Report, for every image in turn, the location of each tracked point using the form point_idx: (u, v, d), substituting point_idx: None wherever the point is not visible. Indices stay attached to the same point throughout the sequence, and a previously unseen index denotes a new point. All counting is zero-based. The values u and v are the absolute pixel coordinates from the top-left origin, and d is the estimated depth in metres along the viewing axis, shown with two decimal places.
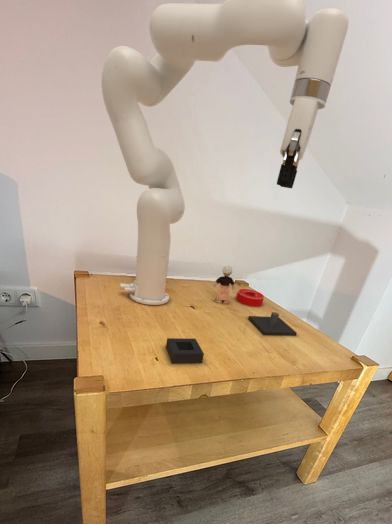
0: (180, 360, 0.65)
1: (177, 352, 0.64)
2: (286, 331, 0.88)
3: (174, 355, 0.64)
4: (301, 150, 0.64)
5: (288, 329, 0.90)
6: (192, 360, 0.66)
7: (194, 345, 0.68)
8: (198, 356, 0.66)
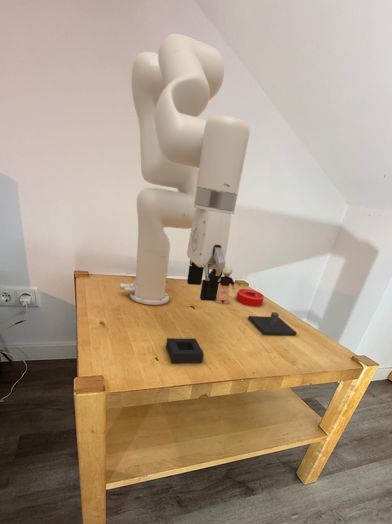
0: (180, 360, 0.65)
1: (177, 352, 0.64)
2: (286, 331, 0.88)
3: (174, 355, 0.64)
4: None
5: (288, 329, 0.90)
6: (192, 360, 0.66)
7: (194, 345, 0.68)
8: (198, 356, 0.66)
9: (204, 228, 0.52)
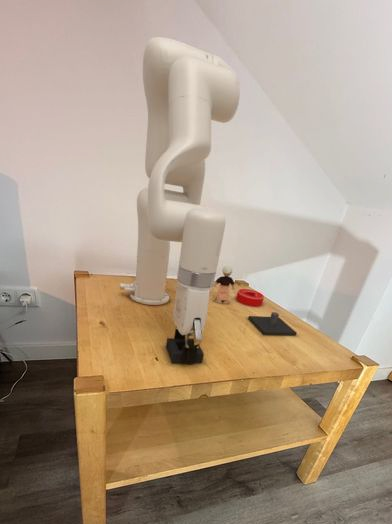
0: (180, 360, 0.65)
1: (177, 352, 0.64)
2: (286, 331, 0.88)
3: (174, 355, 0.64)
4: (202, 332, 0.61)
5: (288, 329, 0.90)
6: None
7: None
8: (198, 356, 0.66)
9: (185, 303, 0.58)
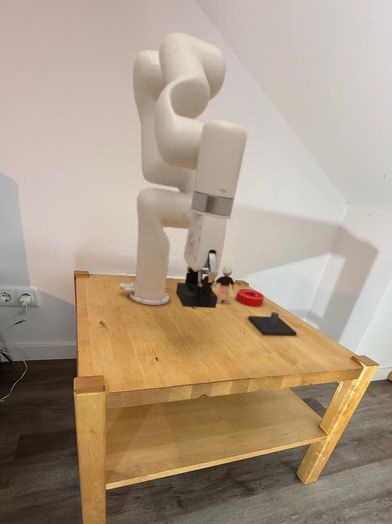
0: (192, 303, 0.60)
1: (189, 294, 0.59)
2: (286, 331, 0.88)
3: (186, 296, 0.58)
4: (217, 269, 0.56)
5: (288, 329, 0.90)
6: None
7: None
8: (211, 299, 0.60)
9: (200, 233, 0.52)
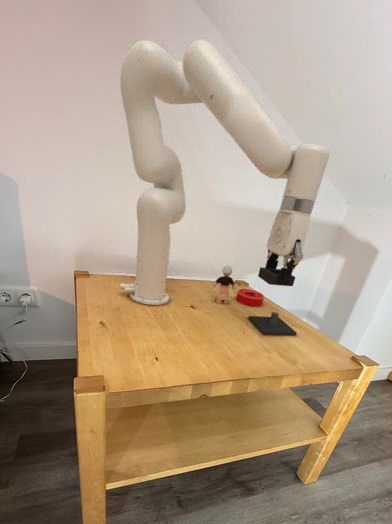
0: (276, 282, 0.77)
1: (274, 274, 0.76)
2: (286, 331, 0.88)
3: (272, 276, 0.76)
4: None
5: (288, 329, 0.90)
6: None
7: None
8: (291, 279, 0.77)
9: (289, 226, 0.70)
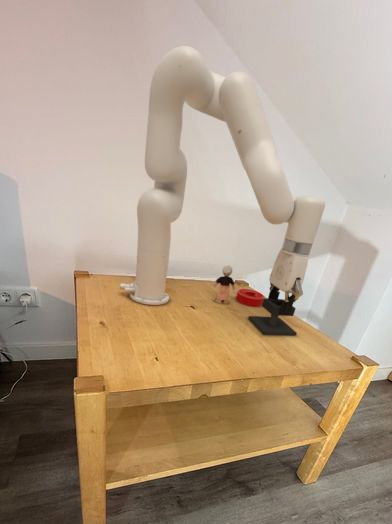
0: (278, 313, 0.85)
1: (277, 306, 0.85)
2: (286, 331, 0.88)
3: (275, 308, 0.84)
4: None
5: (288, 329, 0.90)
6: None
7: None
8: (291, 310, 0.86)
9: (290, 266, 0.78)
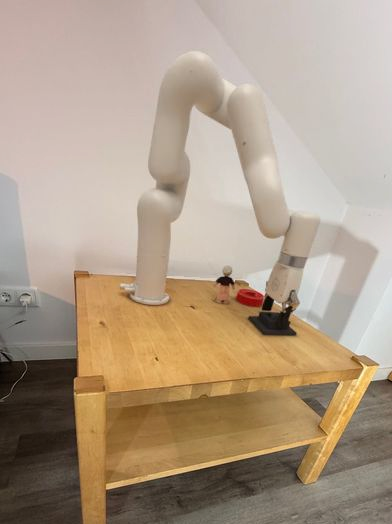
0: (273, 326, 0.88)
1: (272, 320, 0.87)
2: (286, 331, 0.88)
3: (270, 322, 0.86)
4: None
5: (288, 329, 0.90)
6: (282, 327, 0.88)
7: None
8: None
9: (285, 279, 0.80)
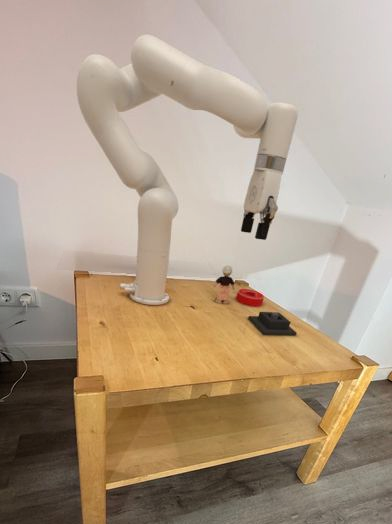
0: (273, 326, 0.88)
1: (272, 320, 0.87)
2: (286, 331, 0.88)
3: (270, 322, 0.86)
4: None
5: (288, 329, 0.90)
6: (282, 327, 0.88)
7: (281, 316, 0.91)
8: (286, 324, 0.88)
9: (262, 183, 0.74)
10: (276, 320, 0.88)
